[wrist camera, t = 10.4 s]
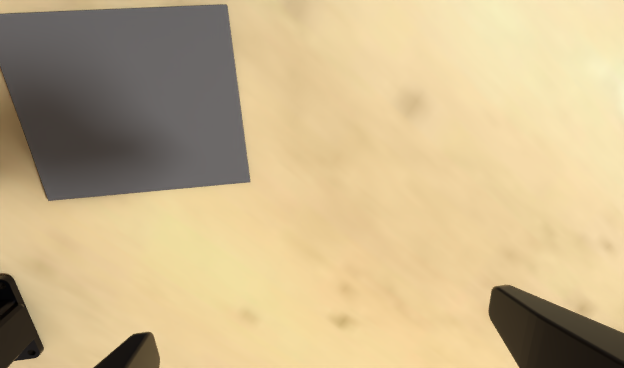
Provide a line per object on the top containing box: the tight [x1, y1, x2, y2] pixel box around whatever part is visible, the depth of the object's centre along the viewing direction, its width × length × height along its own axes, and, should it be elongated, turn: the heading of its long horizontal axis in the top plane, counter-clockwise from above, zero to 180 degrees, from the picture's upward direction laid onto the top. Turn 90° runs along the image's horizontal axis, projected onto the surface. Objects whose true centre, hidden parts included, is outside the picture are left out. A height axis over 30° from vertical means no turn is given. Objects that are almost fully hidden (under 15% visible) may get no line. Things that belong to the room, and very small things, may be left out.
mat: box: [0, 4, 250, 201], centre depth 18 cm, size 12×10×1 cm
